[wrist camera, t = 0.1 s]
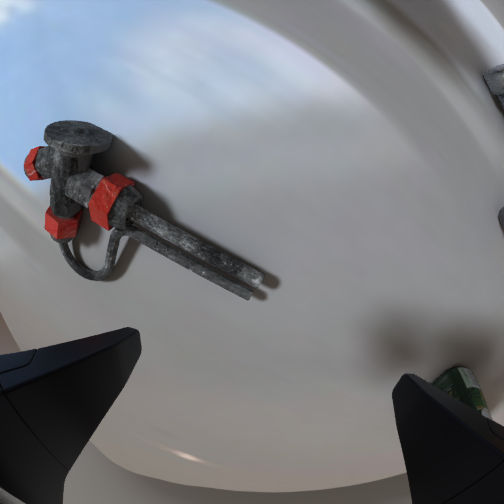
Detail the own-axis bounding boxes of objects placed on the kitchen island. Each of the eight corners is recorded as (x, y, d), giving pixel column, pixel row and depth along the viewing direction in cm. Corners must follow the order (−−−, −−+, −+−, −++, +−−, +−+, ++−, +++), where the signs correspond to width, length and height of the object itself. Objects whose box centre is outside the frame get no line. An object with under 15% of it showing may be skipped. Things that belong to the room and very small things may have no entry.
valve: (43, 220, 27) (61, 104, 19) (218, 327, 30) (292, 221, 22) (9, 244, 21) (14, 113, 14) (203, 372, 24) (290, 262, 17)
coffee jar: (431, 414, 28) (459, 513, 11) (401, 405, 28) (429, 523, 10) (478, 371, 25) (526, 469, 7) (454, 356, 24) (511, 476, 7)
